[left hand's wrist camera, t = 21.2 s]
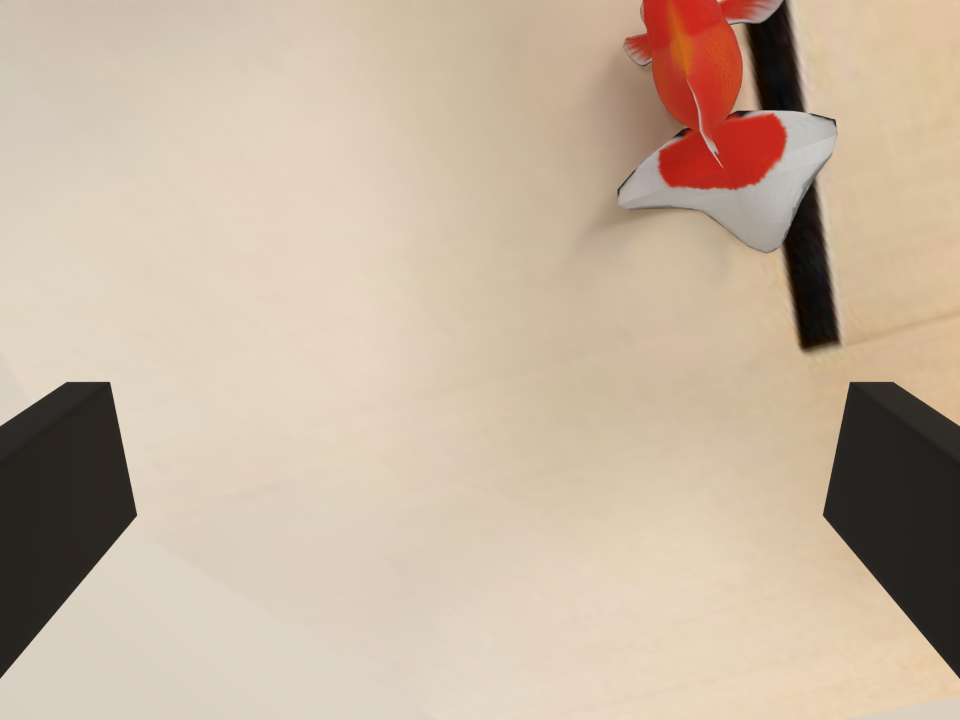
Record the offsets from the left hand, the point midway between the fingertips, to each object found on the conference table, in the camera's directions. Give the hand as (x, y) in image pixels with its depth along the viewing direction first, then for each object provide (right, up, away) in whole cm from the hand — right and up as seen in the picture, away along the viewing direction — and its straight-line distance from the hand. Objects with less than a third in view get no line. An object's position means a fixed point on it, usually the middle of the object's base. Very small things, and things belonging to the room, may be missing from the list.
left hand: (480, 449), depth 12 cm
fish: (+12, +15, +26) cm, 33 cm away
